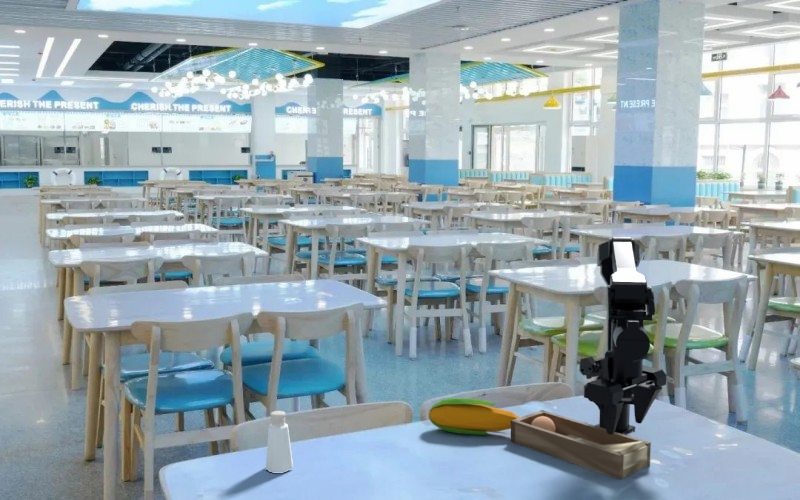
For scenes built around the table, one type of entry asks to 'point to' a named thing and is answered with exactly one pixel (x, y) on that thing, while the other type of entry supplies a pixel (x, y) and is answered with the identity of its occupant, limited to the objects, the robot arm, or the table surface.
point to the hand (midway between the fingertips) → (624, 428)
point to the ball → (544, 423)
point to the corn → (470, 416)
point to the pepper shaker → (278, 444)
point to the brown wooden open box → (583, 444)
